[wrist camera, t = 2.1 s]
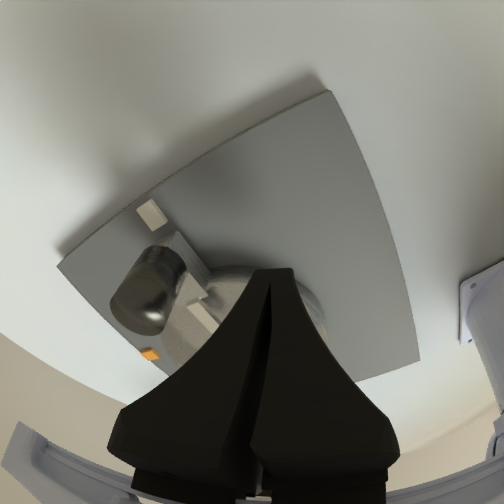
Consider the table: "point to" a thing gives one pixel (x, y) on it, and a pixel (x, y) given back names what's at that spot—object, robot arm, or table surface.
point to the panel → (273, 233)
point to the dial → (186, 297)
